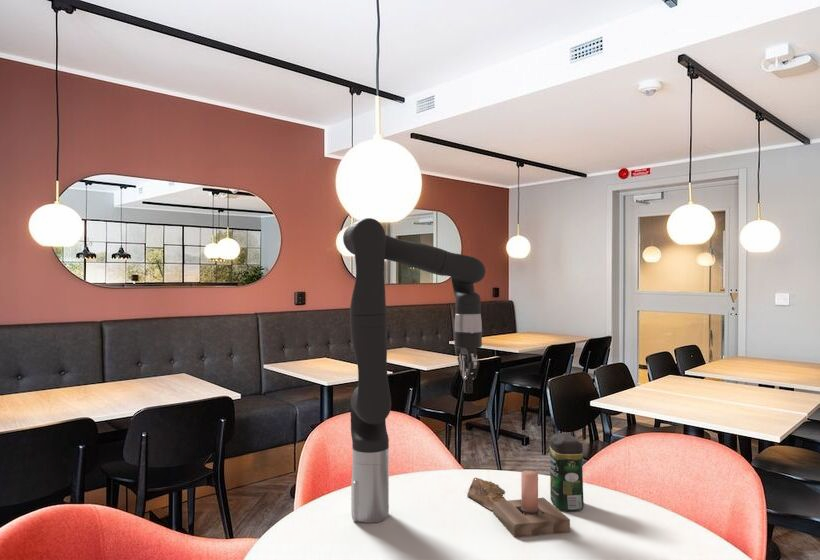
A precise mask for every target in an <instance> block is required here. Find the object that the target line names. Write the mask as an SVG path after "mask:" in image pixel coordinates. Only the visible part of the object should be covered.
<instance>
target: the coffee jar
mask: <svg viewBox="0 0 820 560" xmlns="http://www.w3.org/2000/svg"><path fill="white" fill-rule="evenodd" d="M583 449H584V447H583V443H582V441H581V440H580V439H578V438H577V437H575V436H574V435H572V434H571V433H568V432H565V433H563V432H562V433H561V432H559V433H554V434H553V435H552V436H550V439H549V455H550V456H549V457H550V458H549V461H550V462H549V464H550V465H549V467H550V468H549V471H550V473H549V474H550V478H549V479H550V480H549V481H550V485H549V487H550V489H549V490H550V493H549V494H550V497H549V498H550V501H551V502H552V503H551V504H552V505H553V506H554V507H556V508H557V509H558V510H559V511H560V510H561V511H566V512H577V511H580V510H583V509H584V479H583V478H584V477H583V476H584V475H583V473H584V471H583V459H584V458H583V457H584V450H583Z"/></svg>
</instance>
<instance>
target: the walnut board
mask: <svg viewBox="0 0 820 560" xmlns="http://www.w3.org/2000/svg"><path fill="white" fill-rule="evenodd" d="M521 506H522V498H521V499H512V500H511V499H509V500H507V501H496V502H493V511H492V514H493V515H494V517H496V519H497V518H498V519H497V520H499V522H500V523H501V524H502V525H503V526H504V528H505V527H506V528H505V529H506V530H507V531H508V532H509V533H510V534H511V536H513V538H524V537H533V536H534V537H535V536H544V535H554V534H563V533H564V534H565V533H570V532H571V519H570V518H569V516H566V515H565V513H563V512H562V511H560V510H559V509H557V508H556V507H555V506H554V505H553V503H551V502H550V501H548V500H547V498H545V497H538V508H539V512H538V513H537V514H536V515H525V516H524V515H523V512H522V511H521Z"/></svg>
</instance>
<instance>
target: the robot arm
mask: <svg viewBox="0 0 820 560" xmlns="http://www.w3.org/2000/svg"><path fill="white" fill-rule="evenodd" d="M342 241H343V245H344V247H345V248H346V250H347V251H348V252H349V253H350V254H352V255H353V256H354V259H355V281H354V284H353V290H352V295H351V299H350V306H349V307H350V308H349V309H350V310H349V316H350V318H349V321H350V322H349V323H350V335H351V340H352V345H353V350H354V351H353V352H354V355H355V360H356V364H357V373H358V374H357V377H358V379H357V382H358V383H357V387H356V388H355V389H354V390H353V392H352V394H351V397H350V435H351V440H352V441H351V442H352V448H351V449H352V455H351V456H352V459H351V460H352V466H351V467H352V470H351V471H352V475H351V477H350V478H351V480H350V481H351V485H350V486H351V492H350V493H351V496H350V497H351V498H350V499H351V500H350V501H351V503H350V504H351V505H350V506H351V507H350V509H351V511H350V512H351V517H352V520H353V522H354V523H356V522H358V523H359V522H360V523H367V524H368V523H369V524H371V523H379V522H383V521H384V520H386V519H388V518H389V513H390V504H389V503H390V502H389V500H390V499H389V497H390V496H389V494H390V493H389V492H390V488H389V487H390V485H389V484H390V482H389V479H390V478H389V477H390V476H389V475H390V474H389V472H390V471H389V470H390V469H389V467H390V465H389V463H390V461H389V457H390V456H389V452H390V447H389V446H390V445H389V443H390V441H389V440H390V439H389V438H390V437H389V434H388V429H387V424H386V423H387V422H386V421H387V420H386V419H387V418H388V417H389V414H390V413H391V409H392V397H391V392H390V391H391V390H390V385H389V384H390V383H389V378H388V377H389V375H388V362H387V361H388V321H387V320H388V319H387V317H388V316H387V305H386V304H387V302H386V286H385V284H386V283H385V282H386V281H385V263H386V262H385V261H391V262H394V263H395V262H396V263H398V264H403V265H404V266H405V265H406V266H408V267H411V268H415V269H417V270H421V271H423V272H424V271H425V272H427V273H430V274H434V275H436V276H437V275H438V276H442V277H450V278H451V284H452V289H453V290H452V291H453V295H454V298H455V310H454V313H455V315H454V348H457V349H460V353H459V356H457V363H458V367H459V372H460V376H462V377H461V378H462V379H463V392H464V393H465V394H473V393H474V380H475V379H477V375H478V371H479V369H480V368H479V367H480V364H481V363H480V361H478V355H477V352H476V351H477V350H476V349H480V348H482V346H483V343H482V342H483V336H482V335H483V334H482V333H483V332H482V331H483V327H482V326H483V323H482V316H481V315H482V312H481V311H482V309H481V307H482V305H481V304H482V301H481V300H482V299H481V296H480V295H479V293H477V292H476V291H475V286H474V284H477V283H479V282H481V281H482V280H483V279H484V277H485V275H486V268H485V265H484V263H483V262H482V261H481V260H480V259H478V258H476V257H474V256H470V255H465V254H460V253H454V252H451V251H448V250H445V249H442V248H439V247H437V246H436V247H435V246H433V245H430V244H426V243H422V242H416V241H409V240H405V239H399V238H396V237H393V236H389V235H387V234H386V231H385V229H384V226H383V225H382V224H381V222H380V221H378V220H377V219H375V218H372V217H370V218H369V217H367V218H363V219H360V220H358V221H354V222H353V223H351V224H350V225H348V226H347V228H346V229H345V230H344V231H343V235H342Z"/></svg>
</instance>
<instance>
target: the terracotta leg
mask: <svg viewBox="0 0 820 560" xmlns="http://www.w3.org/2000/svg"><path fill="white" fill-rule="evenodd" d="M520 475H521V477H520V479H521V481H520V482H521V485H520V486H521V499H522V506H521V511H522V512H523V515H524V516H525V515H536V514H537V513H538V512H539V508H538V498H539V474H538V472H536V471H533V470H524V471H521V474H520Z"/></svg>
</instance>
